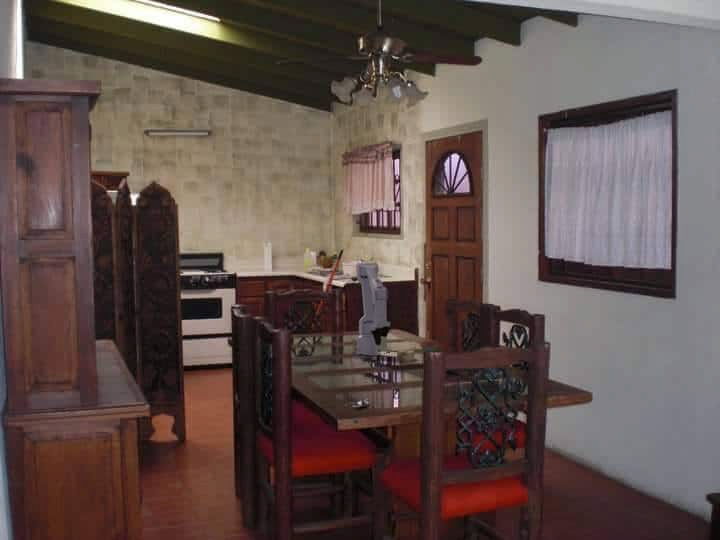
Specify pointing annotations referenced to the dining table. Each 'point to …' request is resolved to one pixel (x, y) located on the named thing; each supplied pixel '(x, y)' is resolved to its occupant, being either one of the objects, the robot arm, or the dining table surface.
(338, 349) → the dining table surface
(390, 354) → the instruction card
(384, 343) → the sage brick
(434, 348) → the cupcake
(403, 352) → the beech base brick
